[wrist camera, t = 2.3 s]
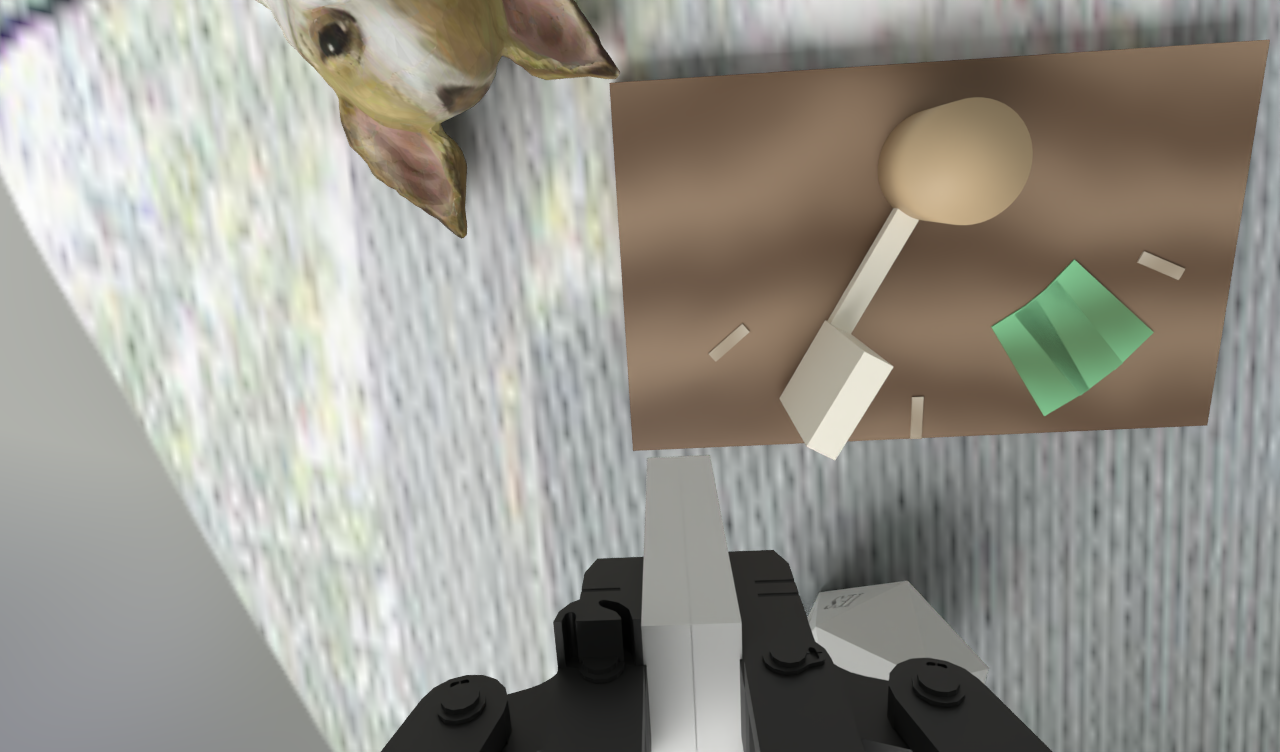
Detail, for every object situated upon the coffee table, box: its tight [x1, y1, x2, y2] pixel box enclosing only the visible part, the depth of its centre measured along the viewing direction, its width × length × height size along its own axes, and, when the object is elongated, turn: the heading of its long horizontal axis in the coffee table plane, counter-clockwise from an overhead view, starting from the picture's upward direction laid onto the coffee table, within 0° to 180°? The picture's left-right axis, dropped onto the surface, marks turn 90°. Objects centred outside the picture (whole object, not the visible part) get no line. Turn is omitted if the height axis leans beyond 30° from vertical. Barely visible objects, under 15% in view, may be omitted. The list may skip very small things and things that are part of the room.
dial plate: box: [610, 40, 1270, 451], centre depth 31 cm, size 16×26×2 cm, turn 93°
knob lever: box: [779, 97, 1033, 460], centre depth 27 cm, size 14×4×6 cm, turn 153°
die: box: [807, 581, 989, 684], centre depth 33 cm, size 8×9×10 cm
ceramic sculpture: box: [256, 0, 620, 238], centre depth 26 cm, size 11×9×15 cm
